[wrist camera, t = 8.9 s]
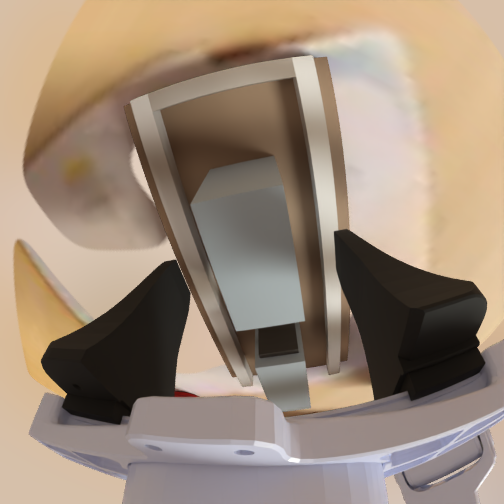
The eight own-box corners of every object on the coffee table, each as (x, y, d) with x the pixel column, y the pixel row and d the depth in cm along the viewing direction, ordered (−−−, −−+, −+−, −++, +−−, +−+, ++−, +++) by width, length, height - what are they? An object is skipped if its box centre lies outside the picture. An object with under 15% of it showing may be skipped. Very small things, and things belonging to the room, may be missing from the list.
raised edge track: (344, 348, 25) (358, 405, 19) (233, 365, 26) (229, 422, 20) (320, 60, 12) (361, 40, 7) (134, 104, 14) (71, 117, 8)
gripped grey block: (274, 155, 14) (283, 184, 10) (294, 268, 18) (305, 326, 13) (209, 169, 14) (190, 204, 10) (241, 278, 18) (238, 336, 14)
